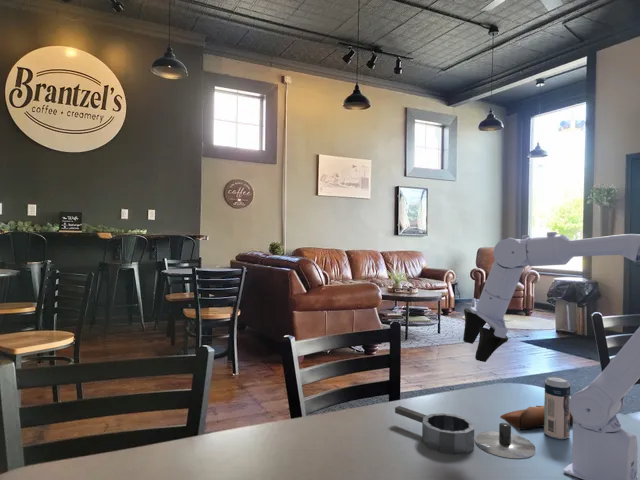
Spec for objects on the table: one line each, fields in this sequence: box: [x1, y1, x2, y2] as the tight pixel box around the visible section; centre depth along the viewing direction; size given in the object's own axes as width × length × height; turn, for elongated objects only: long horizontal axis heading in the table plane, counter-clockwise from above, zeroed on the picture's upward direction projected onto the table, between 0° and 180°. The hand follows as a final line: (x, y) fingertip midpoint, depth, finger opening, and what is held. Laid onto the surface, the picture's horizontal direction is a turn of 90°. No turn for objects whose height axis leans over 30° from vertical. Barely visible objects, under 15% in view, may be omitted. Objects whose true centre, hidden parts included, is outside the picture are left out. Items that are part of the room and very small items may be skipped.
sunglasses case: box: [499, 405, 573, 431], centre depth 104 cm, size 18×7×7 cm, turn 105°
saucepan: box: [394, 405, 475, 455], centre depth 95 cm, size 18×10×4 cm, turn 42°
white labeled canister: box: [543, 376, 571, 440], centre depth 96 cm, size 5×5×12 cm
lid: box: [474, 422, 537, 459], centre depth 91 cm, size 11×11×4 cm
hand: (473, 350), depth 97 cm, fingers open, 7 cm apart
